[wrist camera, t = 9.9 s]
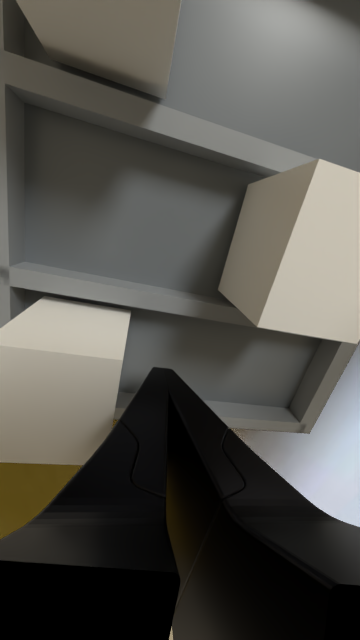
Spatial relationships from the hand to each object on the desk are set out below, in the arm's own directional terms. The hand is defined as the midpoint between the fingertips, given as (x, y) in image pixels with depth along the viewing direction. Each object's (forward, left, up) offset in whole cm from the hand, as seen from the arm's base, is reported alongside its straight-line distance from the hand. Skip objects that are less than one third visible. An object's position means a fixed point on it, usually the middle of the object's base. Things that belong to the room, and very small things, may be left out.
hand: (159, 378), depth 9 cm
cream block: (+3, 0, -1) cm, 3 cm away
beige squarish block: (-3, -5, -1) cm, 6 cm away
